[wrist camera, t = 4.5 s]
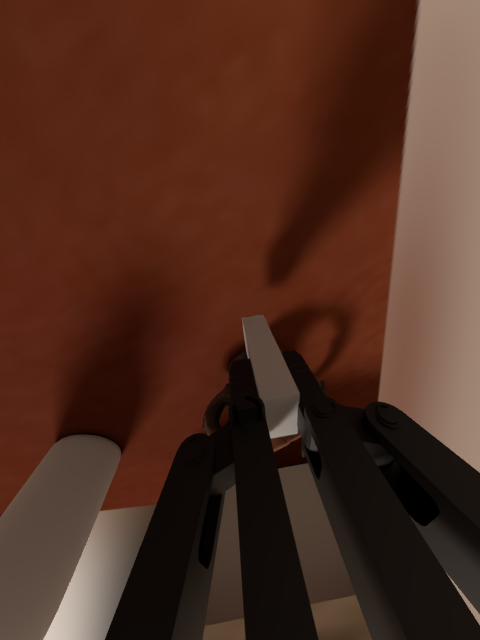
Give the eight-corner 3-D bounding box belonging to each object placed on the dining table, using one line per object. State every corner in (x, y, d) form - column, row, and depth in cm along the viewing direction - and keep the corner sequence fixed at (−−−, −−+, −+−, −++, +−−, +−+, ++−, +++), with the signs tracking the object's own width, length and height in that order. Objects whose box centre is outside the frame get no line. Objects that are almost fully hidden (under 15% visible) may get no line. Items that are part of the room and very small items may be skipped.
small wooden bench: (175, 463, 27) (134, 690, 14) (348, 432, 28) (461, 620, 15) (190, 488, 32) (170, 678, 19) (339, 461, 32) (420, 625, 19)
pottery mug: (297, 319, 18) (363, 401, 13) (284, 357, 26) (324, 417, 21) (177, 375, 16) (210, 494, 11) (204, 398, 23) (229, 474, 19)
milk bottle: (48, 430, 21) (-783, 1463, 4) (122, 433, 23) (-202, 1155, 5) (60, 464, 24) (-331, 1075, 7) (124, 465, 26) (-67, 962, 9)
